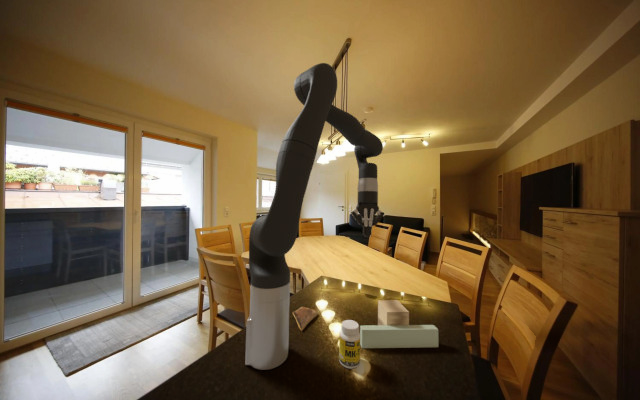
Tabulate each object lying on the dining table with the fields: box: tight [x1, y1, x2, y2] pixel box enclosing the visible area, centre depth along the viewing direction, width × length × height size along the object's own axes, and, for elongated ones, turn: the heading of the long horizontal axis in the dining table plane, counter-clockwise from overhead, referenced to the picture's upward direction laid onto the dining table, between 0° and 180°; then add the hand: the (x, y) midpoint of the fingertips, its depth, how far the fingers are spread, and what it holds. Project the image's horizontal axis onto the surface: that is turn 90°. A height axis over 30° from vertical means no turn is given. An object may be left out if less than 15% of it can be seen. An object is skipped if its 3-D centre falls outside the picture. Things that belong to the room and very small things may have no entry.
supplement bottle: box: [338, 319, 361, 370], centre depth 47 cm, size 5×5×8 cm
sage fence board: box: [359, 324, 439, 349], centre depth 53 cm, size 20×2×4 cm, turn 93°
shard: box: [292, 306, 319, 332], centre depth 64 cm, size 11×8×2 cm
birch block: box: [377, 299, 410, 325], centre depth 58 cm, size 6×7×8 cm
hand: (367, 236), depth 77 cm, fingers closed
